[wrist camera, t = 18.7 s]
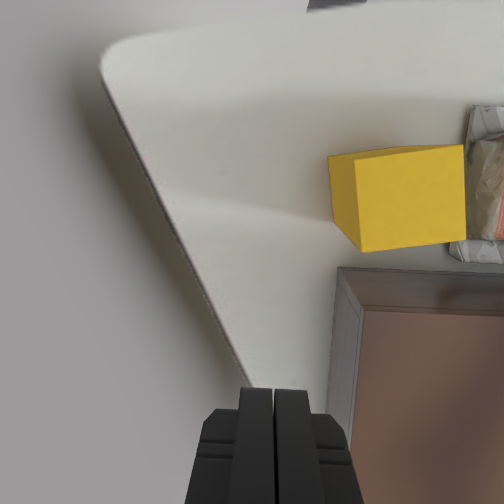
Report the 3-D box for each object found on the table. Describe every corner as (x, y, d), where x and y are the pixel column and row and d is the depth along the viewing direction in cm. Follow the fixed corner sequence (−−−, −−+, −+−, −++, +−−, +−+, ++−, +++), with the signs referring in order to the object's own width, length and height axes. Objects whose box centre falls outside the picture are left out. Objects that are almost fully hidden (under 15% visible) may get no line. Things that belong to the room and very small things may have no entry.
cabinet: (534, 275, 30) (636, 322, 22) (504, 435, 33) (584, 530, 25) (337, 266, 31) (364, 310, 22) (324, 425, 34) (343, 517, 25)
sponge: (327, 156, 29) (353, 159, 20) (403, 145, 29) (463, 144, 20) (334, 223, 30) (361, 253, 21) (407, 213, 30) (466, 240, 21)
